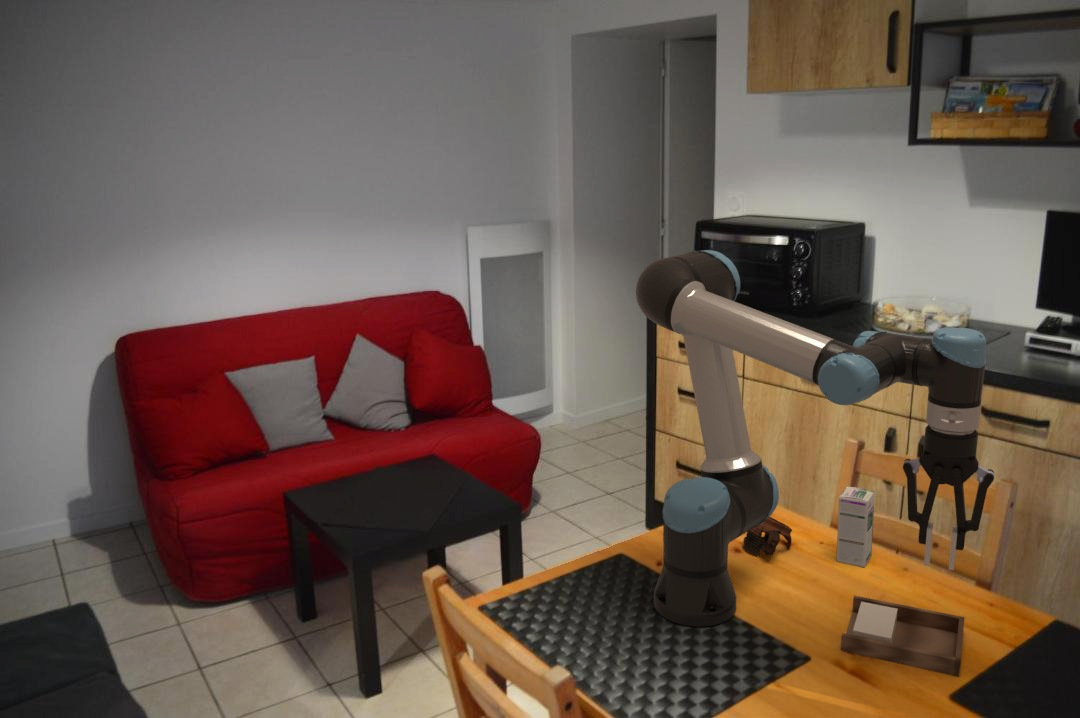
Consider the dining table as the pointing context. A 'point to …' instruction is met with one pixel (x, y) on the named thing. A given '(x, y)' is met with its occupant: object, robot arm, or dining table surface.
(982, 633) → the dining table surface
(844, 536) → the syrup box
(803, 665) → the dining table surface
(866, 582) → the dining table surface
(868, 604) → the light grey block
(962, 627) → the walnut box
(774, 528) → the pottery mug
